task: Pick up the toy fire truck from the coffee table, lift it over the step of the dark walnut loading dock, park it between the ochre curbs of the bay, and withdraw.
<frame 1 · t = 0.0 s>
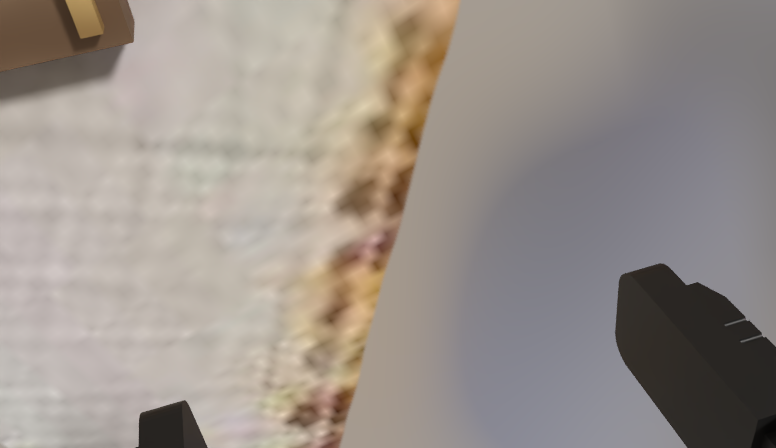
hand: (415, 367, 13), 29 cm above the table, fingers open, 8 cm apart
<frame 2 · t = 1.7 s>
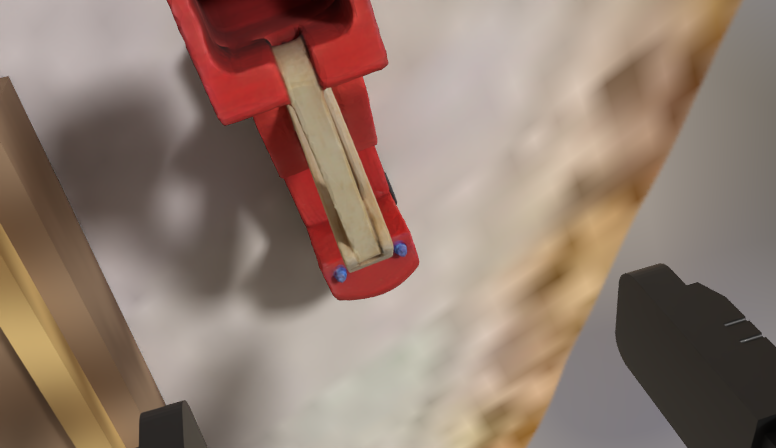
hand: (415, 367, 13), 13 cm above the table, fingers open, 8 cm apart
toy fire truck: (295, 71, 23), on the table
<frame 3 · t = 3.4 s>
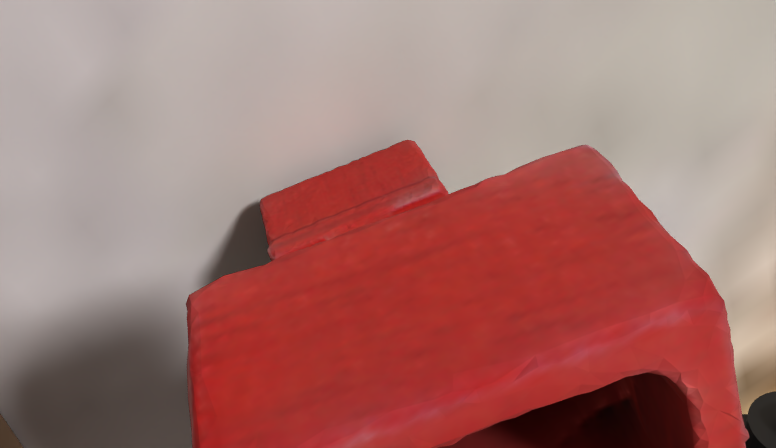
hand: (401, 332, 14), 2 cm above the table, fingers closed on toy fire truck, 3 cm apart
toy fire truck: (377, 270, 16), on the table, touching gripper
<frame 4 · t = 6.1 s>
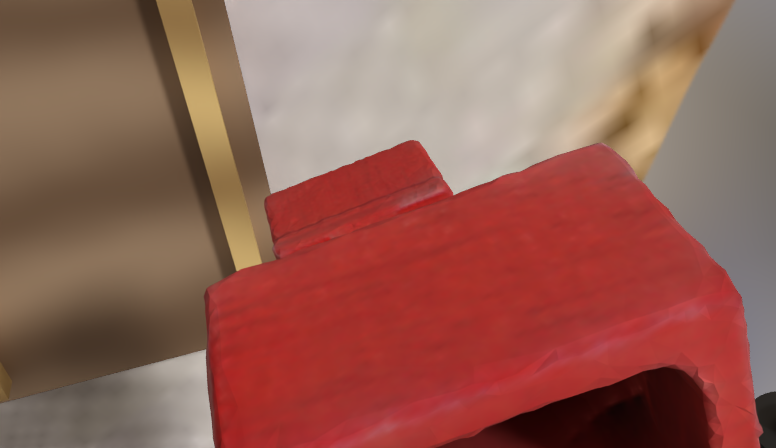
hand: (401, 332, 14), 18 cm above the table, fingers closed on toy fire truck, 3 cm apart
toy fire truck: (379, 269, 16), point 16 cm above the table, touching gripper
loading dock: (72, 152, 29), on the table
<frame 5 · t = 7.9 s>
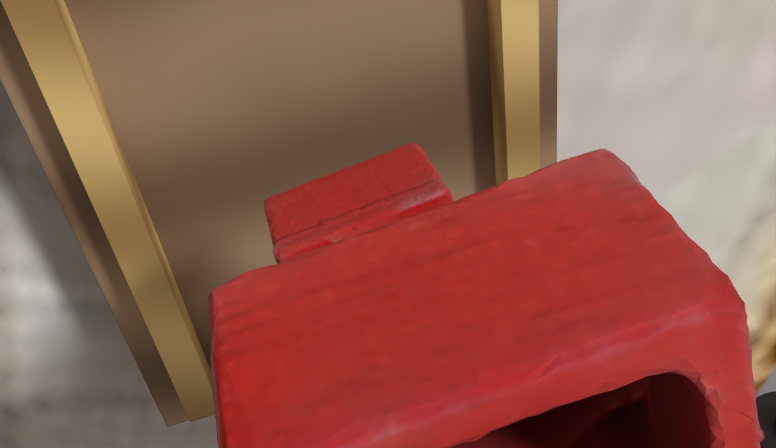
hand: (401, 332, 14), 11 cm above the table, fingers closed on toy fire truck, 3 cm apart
toy fire truck: (378, 272, 16), point 9 cm above the table, touching gripper
loading dock: (303, 99, 23), on the table
when the fingers open (6 cm above the table, at t = 9.1 s): toy fire truck drops 1 cm, resting on loading dock.
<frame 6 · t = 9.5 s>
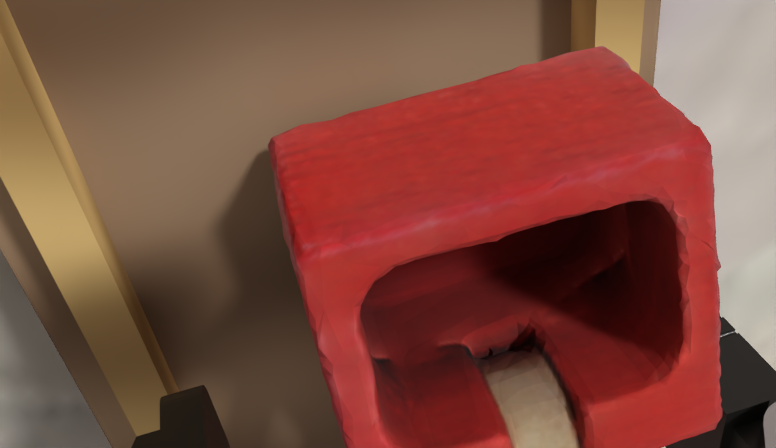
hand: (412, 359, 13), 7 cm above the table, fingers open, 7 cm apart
toy fire truck: (371, 226, 17), point 3 cm above the table, touching loading dock
loading dock: (335, 173, 19), on the table
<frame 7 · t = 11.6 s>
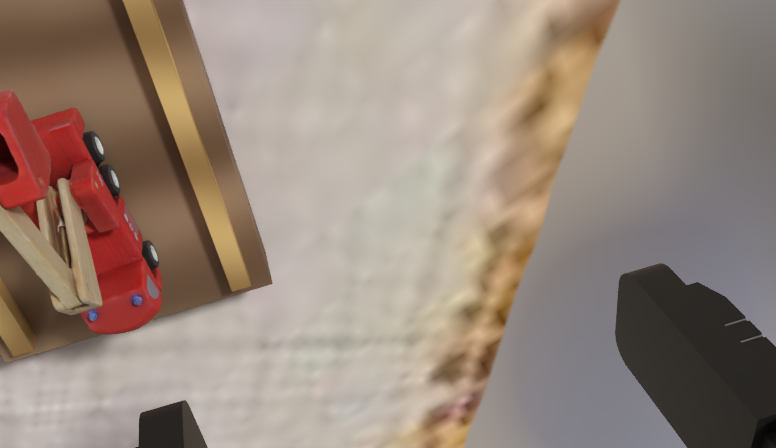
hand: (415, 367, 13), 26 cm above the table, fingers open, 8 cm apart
toy fire truck: (77, 171, 33), point 3 cm above the table, touching loading dock
loading dock: (77, 148, 36), on the table
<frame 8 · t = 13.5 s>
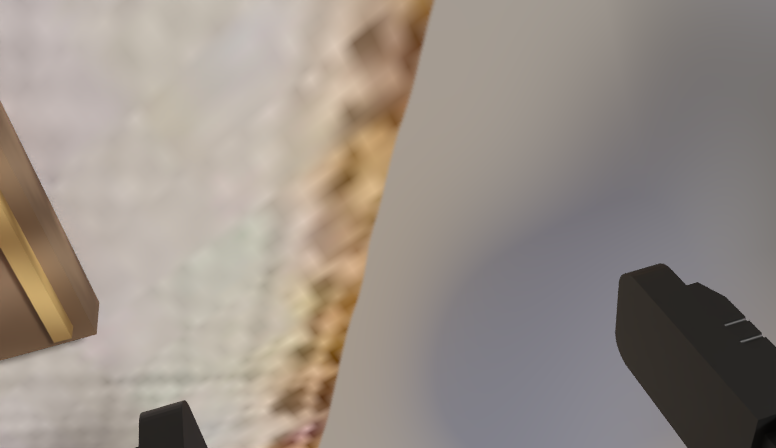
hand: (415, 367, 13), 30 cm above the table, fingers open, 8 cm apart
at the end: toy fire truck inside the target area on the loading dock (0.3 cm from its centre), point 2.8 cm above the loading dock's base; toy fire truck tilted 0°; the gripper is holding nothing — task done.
